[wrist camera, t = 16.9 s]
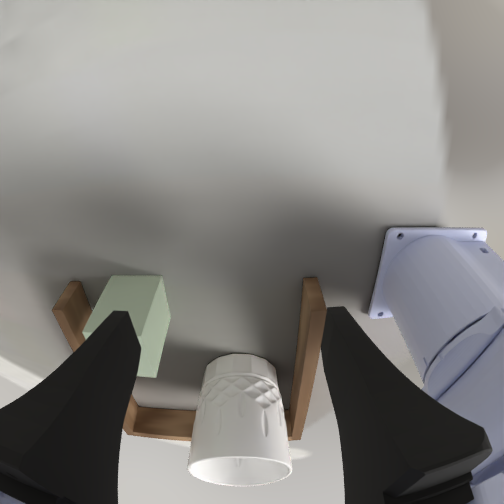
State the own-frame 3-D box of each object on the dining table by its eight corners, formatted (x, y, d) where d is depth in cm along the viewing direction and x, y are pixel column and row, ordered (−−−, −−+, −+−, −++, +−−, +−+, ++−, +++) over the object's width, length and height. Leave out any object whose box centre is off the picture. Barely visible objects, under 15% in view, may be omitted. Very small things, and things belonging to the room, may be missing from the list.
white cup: (286, 392, 30) (294, 482, 21) (209, 399, 30) (203, 486, 22) (278, 342, 26) (289, 452, 17) (187, 351, 26) (171, 456, 18)
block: (161, 275, 22) (141, 336, 17) (170, 316, 24) (156, 377, 19) (111, 275, 22) (82, 331, 17) (124, 315, 24) (102, 372, 19)
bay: (317, 277, 22) (327, 310, 19) (297, 413, 32) (300, 439, 29) (70, 281, 22) (51, 309, 19) (133, 410, 32) (127, 434, 29)
